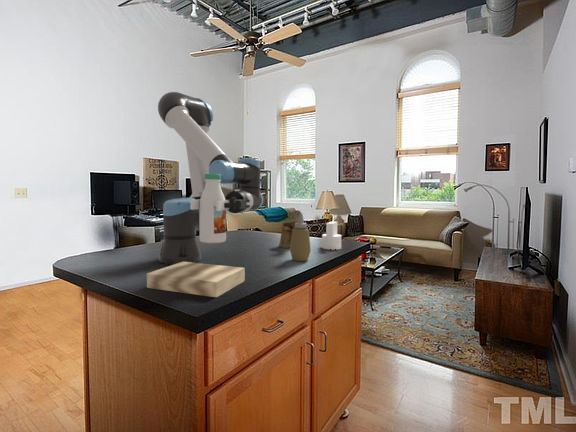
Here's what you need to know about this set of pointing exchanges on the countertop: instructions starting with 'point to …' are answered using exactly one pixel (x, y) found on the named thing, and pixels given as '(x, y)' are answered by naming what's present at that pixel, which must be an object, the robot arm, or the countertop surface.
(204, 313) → the countertop surface
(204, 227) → the milk bottle
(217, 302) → the countertop surface
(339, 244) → the white tiered cake
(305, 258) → the squeeze bottle
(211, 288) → the board
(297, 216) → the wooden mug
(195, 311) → the countertop surface
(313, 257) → the countertop surface
